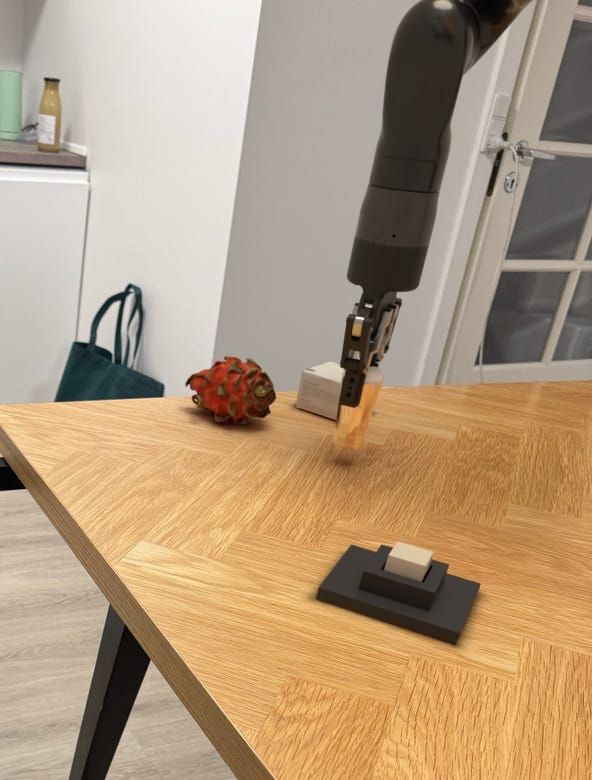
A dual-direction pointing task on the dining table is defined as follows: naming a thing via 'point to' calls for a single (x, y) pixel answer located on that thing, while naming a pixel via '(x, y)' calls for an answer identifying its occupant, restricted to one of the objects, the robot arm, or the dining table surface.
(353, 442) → the milkshake
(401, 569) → the beige square block
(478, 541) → the dining table surface
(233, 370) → the dragon fruit
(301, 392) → the small box
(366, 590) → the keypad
